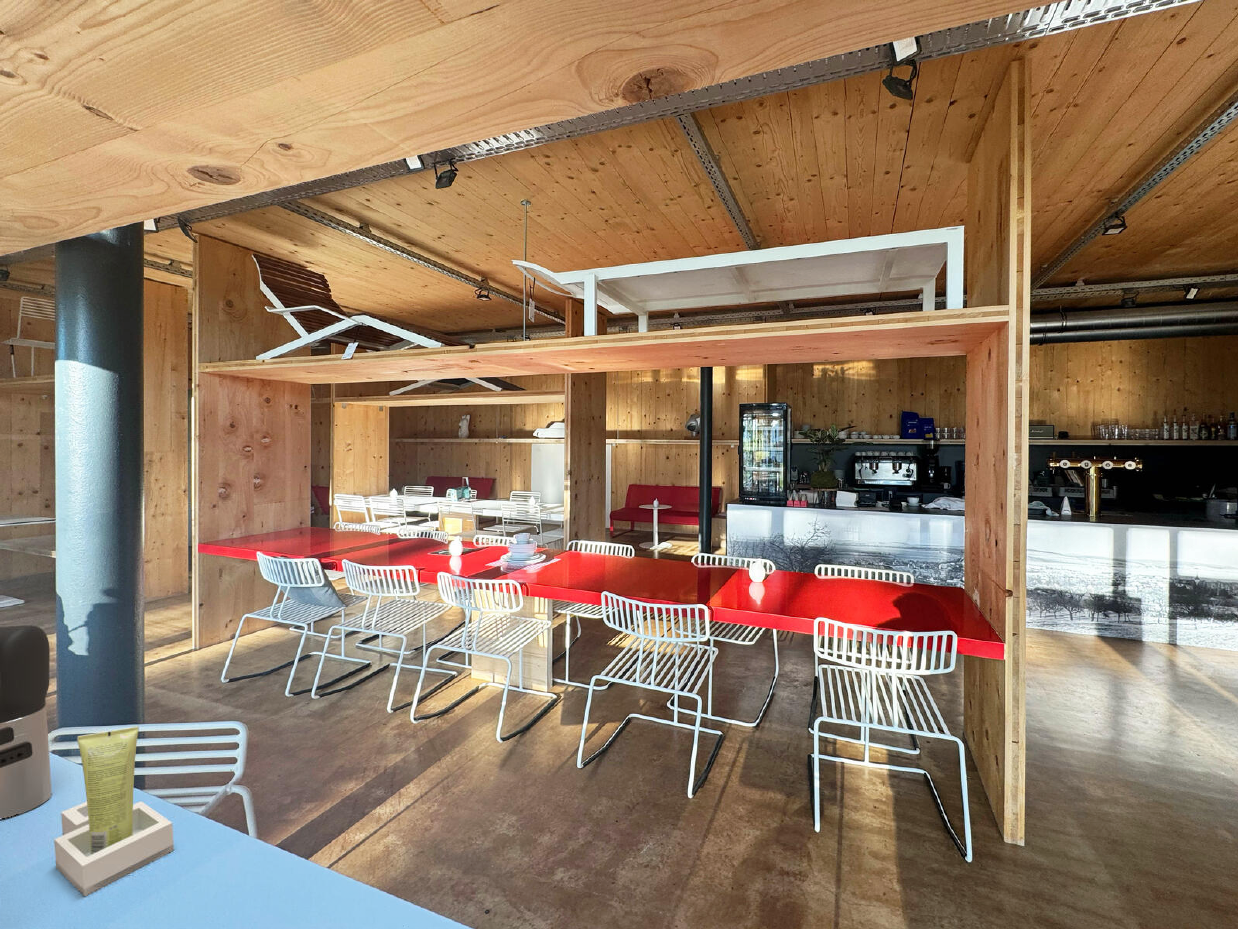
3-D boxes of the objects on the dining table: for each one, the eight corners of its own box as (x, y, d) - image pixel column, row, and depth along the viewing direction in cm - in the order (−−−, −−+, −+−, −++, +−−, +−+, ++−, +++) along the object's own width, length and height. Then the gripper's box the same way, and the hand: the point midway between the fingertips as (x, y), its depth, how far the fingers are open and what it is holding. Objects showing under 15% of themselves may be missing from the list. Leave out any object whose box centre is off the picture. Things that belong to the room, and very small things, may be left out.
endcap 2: (56, 867, 90) (54, 839, 90) (142, 827, 100) (140, 801, 100) (84, 896, 84) (82, 866, 84) (173, 850, 94) (172, 822, 93)
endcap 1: (62, 838, 98) (61, 812, 97) (115, 815, 103) (114, 790, 103) (78, 852, 94) (76, 825, 94) (131, 827, 100) (130, 801, 100)
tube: (126, 837, 96) (120, 720, 95) (144, 845, 94) (138, 725, 93) (83, 860, 90) (76, 736, 90) (102, 868, 88) (95, 742, 88)
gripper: (-157, 791, 67) (35, 727, 81) (-175, 758, 75) (4, 704, 89) (-149, 853, 68) (41, 779, 82) (-167, 814, 75) (9, 752, 89)
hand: (21, 740), depth 85 cm, fingers open, 8 cm apart
